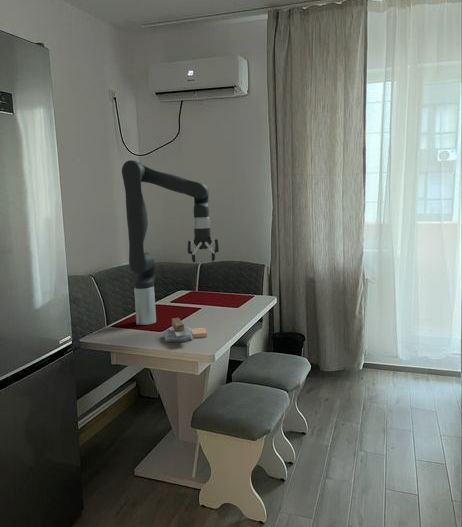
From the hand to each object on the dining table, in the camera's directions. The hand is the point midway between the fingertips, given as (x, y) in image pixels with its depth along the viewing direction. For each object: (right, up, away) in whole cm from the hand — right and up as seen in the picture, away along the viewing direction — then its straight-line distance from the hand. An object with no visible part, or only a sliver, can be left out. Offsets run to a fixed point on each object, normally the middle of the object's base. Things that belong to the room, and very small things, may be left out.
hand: (203, 262), depth 211 cm
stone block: (-9, -33, -22) cm, 40 cm away
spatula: (-9, -29, -23) cm, 38 cm away
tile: (-2, -30, -13) cm, 33 cm away
